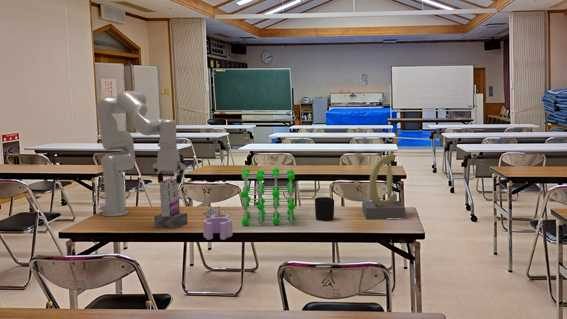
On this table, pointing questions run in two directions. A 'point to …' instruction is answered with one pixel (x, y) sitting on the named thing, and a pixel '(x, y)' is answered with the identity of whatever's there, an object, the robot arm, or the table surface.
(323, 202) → the pen holder
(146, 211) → the table surface
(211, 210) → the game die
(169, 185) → the candy bar box
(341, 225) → the table surface
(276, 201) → the molecular structure model
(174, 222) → the charcoal block
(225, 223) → the clip
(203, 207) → the table surface
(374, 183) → the trophy
